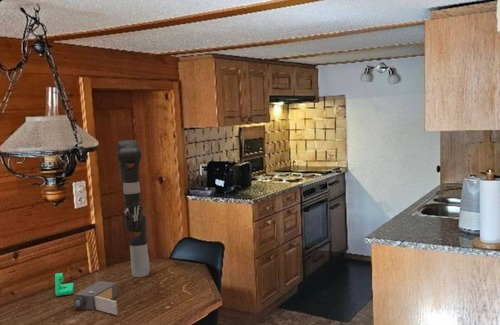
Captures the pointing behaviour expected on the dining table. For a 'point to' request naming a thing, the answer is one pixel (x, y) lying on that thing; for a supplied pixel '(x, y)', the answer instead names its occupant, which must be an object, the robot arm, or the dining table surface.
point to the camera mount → (62, 285)
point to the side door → (105, 305)
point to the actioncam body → (95, 294)
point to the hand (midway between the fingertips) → (134, 228)
